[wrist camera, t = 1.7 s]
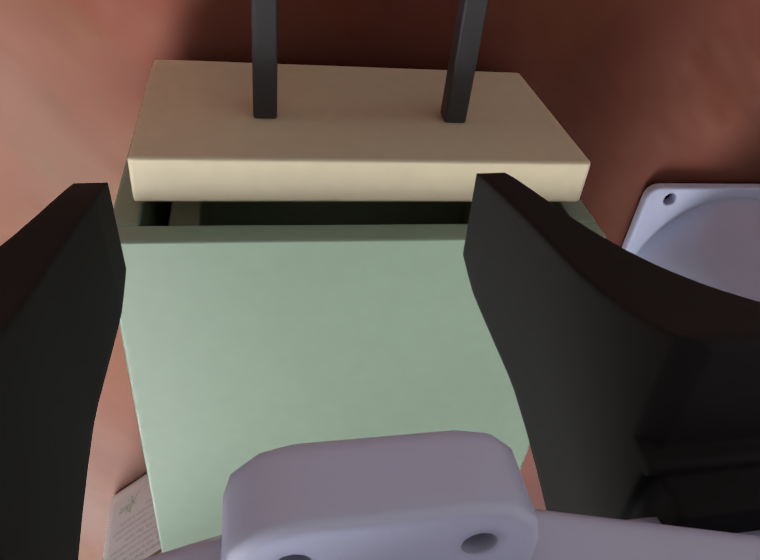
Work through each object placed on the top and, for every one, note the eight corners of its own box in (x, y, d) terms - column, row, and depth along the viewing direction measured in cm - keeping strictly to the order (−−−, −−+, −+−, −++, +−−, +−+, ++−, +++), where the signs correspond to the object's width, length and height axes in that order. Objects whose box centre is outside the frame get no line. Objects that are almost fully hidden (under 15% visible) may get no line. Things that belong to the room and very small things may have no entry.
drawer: (131, -140, 17) (89, -90, 12) (559, -102, 19) (661, -47, 14) (185, 362, 27) (175, 488, 23) (454, 350, 29) (493, 464, 25)
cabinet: (141, 100, 21) (103, 241, 15) (517, 110, 23) (608, 236, 18) (177, 392, 29) (161, 556, 24) (452, 378, 32) (500, 525, 26)
